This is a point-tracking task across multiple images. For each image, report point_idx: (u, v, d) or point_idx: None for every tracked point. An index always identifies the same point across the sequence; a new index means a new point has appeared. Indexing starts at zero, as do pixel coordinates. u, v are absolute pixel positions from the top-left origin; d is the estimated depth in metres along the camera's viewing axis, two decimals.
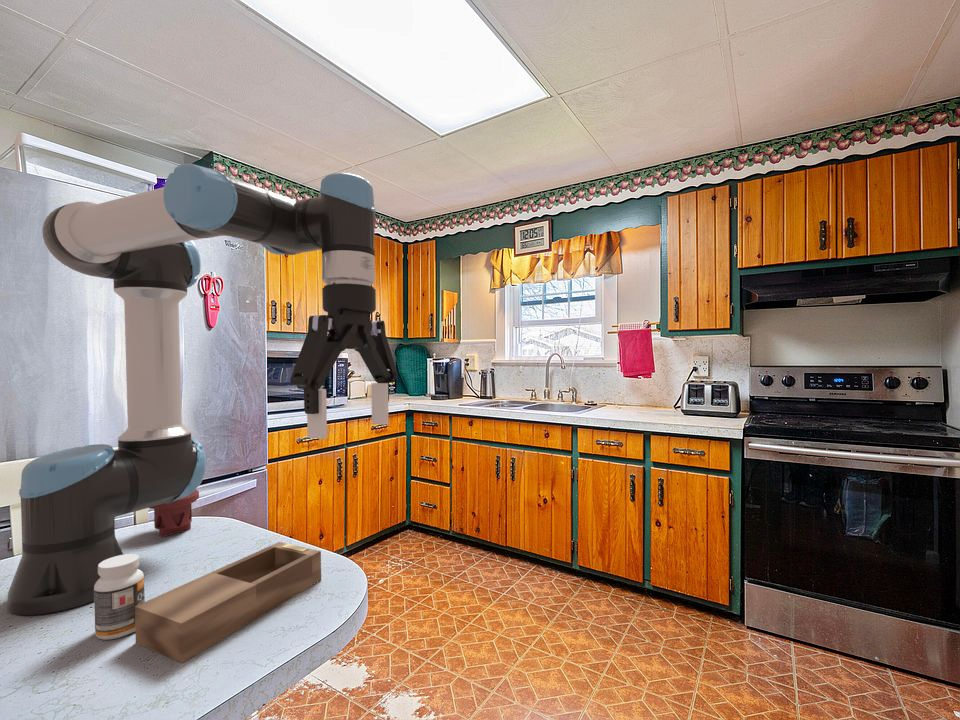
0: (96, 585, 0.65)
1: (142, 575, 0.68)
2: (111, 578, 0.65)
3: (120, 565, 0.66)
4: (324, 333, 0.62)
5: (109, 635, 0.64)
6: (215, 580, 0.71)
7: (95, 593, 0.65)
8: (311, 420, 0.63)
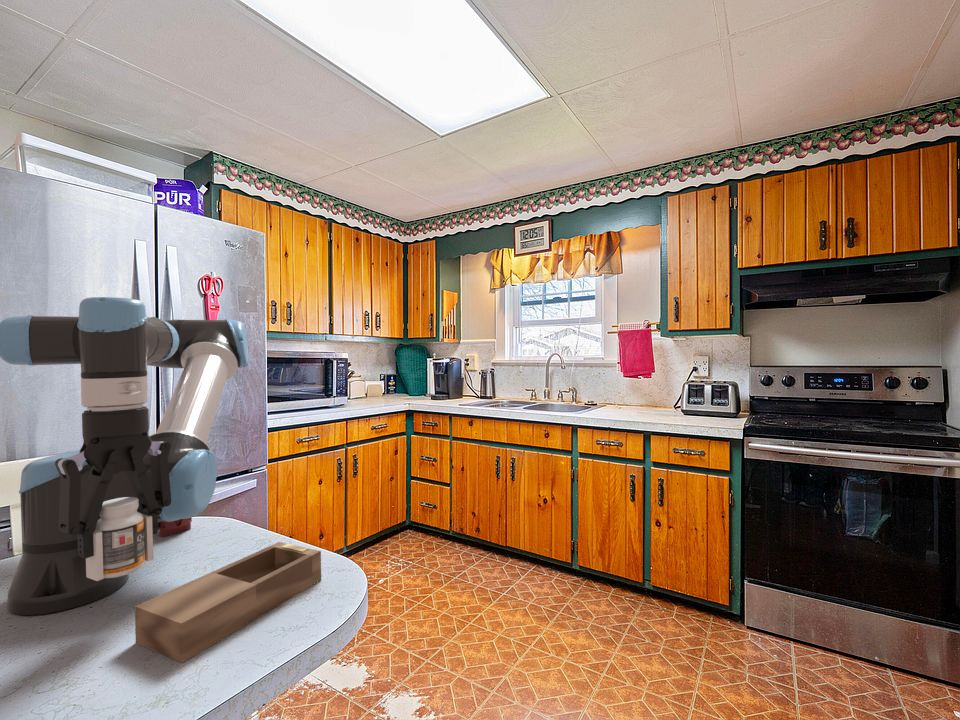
0: None
1: (142, 517, 0.68)
2: (110, 517, 0.65)
3: (119, 505, 0.66)
4: (75, 477, 0.62)
5: (109, 573, 0.65)
6: (215, 580, 0.71)
7: None
8: (88, 561, 0.65)
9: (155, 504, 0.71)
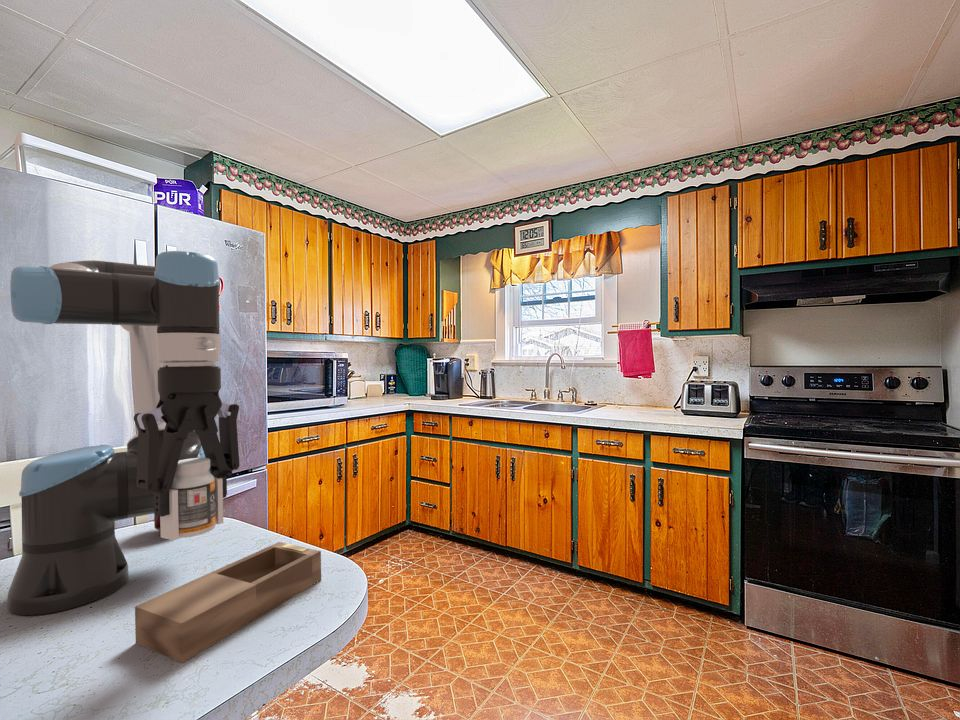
0: None
1: (213, 478, 0.67)
2: (185, 475, 0.64)
3: (194, 463, 0.64)
4: (154, 432, 0.60)
5: (184, 532, 0.63)
6: (215, 580, 0.71)
7: None
8: (163, 521, 0.63)
9: (225, 466, 0.69)
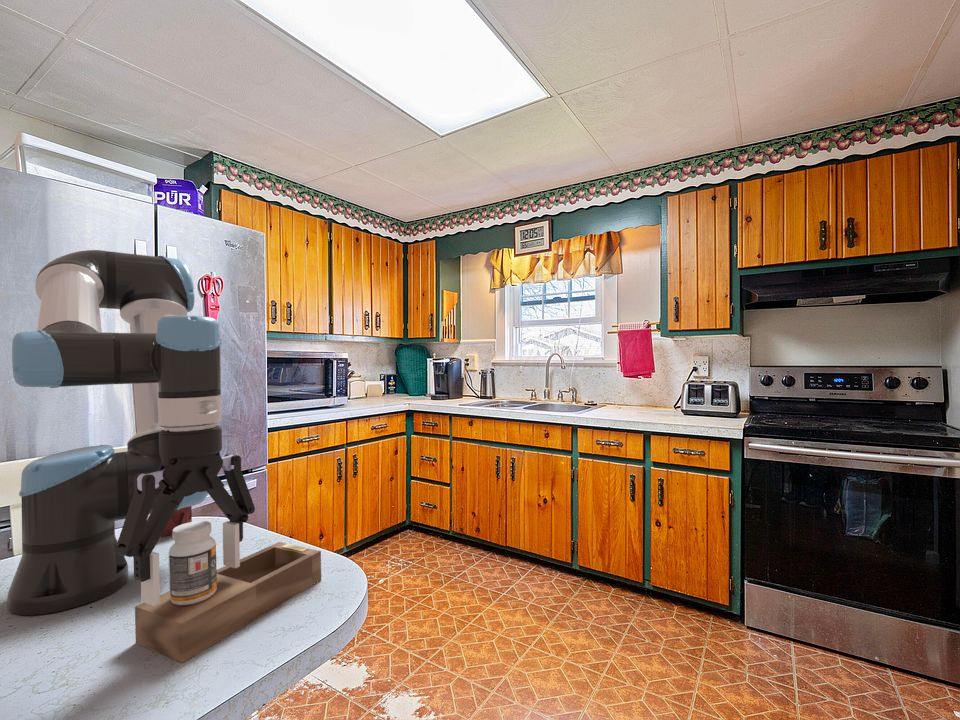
0: (171, 550, 0.64)
1: (214, 542, 0.67)
2: (186, 543, 0.64)
3: (195, 530, 0.65)
4: (149, 494, 0.60)
5: (185, 600, 0.63)
6: None
7: (171, 558, 0.64)
8: (144, 585, 0.61)
9: (240, 512, 0.71)
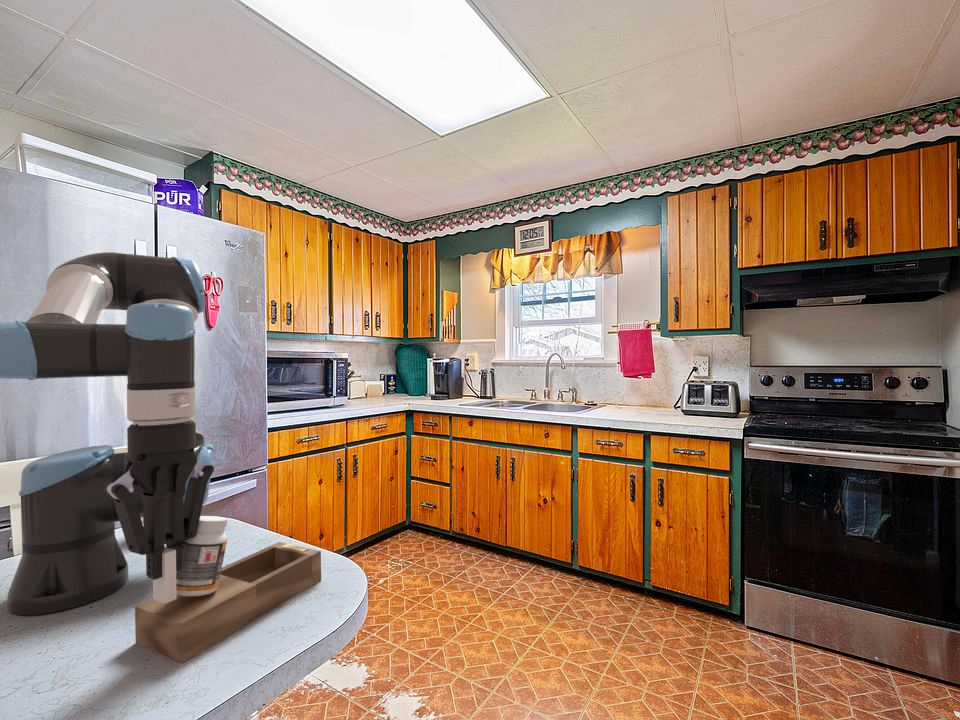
0: None
1: (226, 538, 0.69)
2: (202, 531, 0.66)
3: (213, 520, 0.67)
4: (129, 500, 0.58)
5: (188, 591, 0.64)
6: None
7: None
8: (156, 583, 0.62)
9: (181, 536, 0.63)
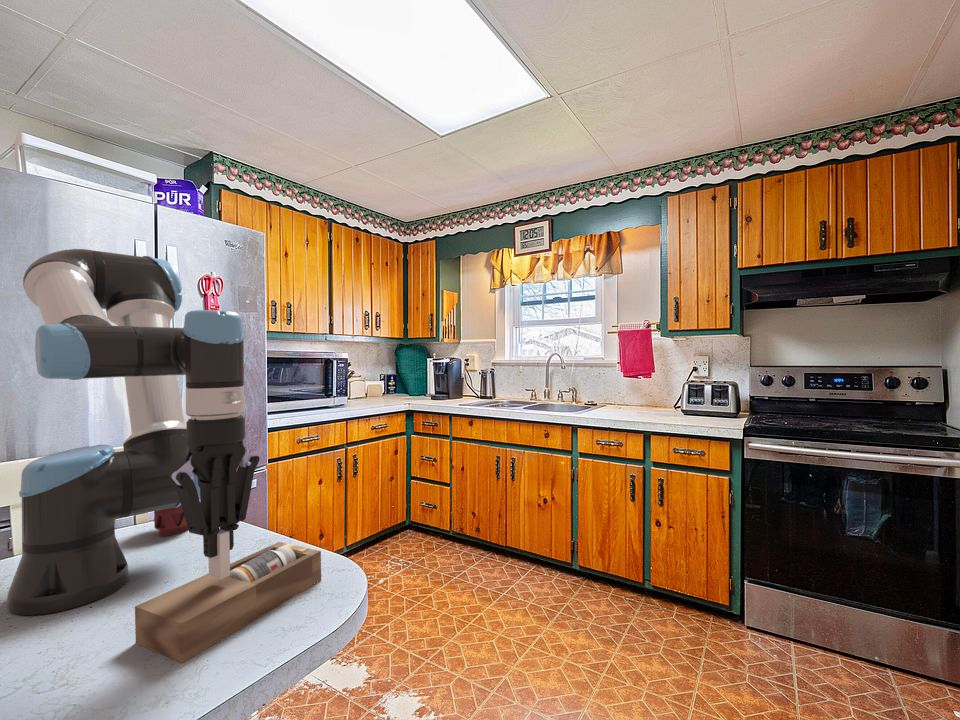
0: None
1: None
2: (283, 553, 0.80)
3: (294, 554, 0.81)
4: (191, 487, 0.65)
5: (245, 572, 0.73)
6: (215, 580, 0.71)
7: (266, 551, 0.79)
8: (211, 561, 0.69)
9: (233, 519, 0.70)
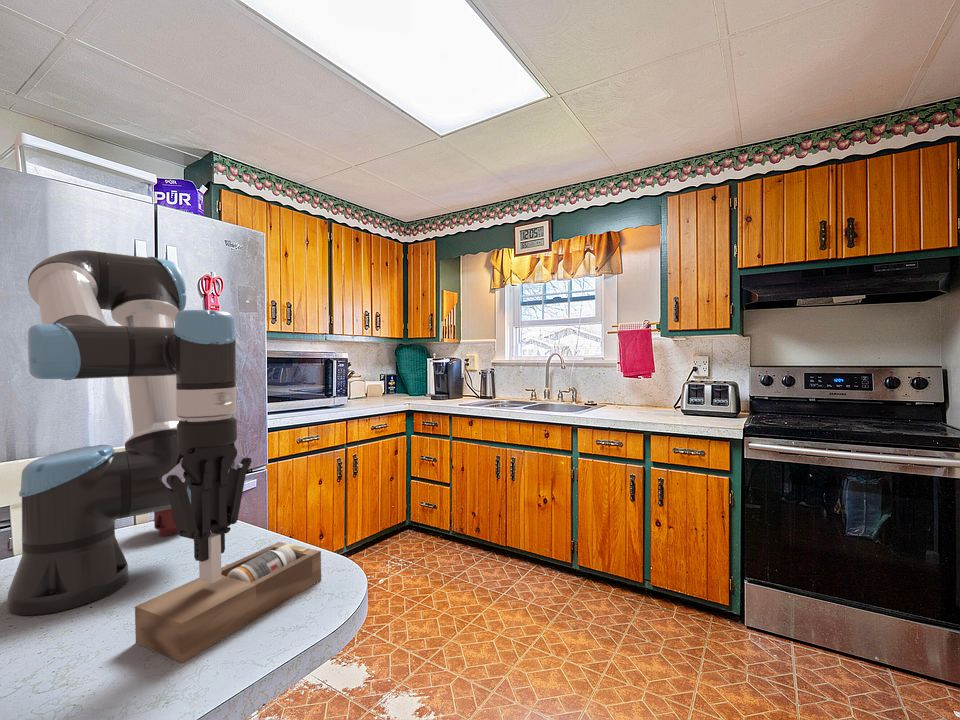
0: None
1: None
2: (283, 553, 0.80)
3: (294, 554, 0.81)
4: (182, 490, 0.63)
5: (245, 572, 0.73)
6: None
7: (266, 552, 0.79)
8: (202, 565, 0.68)
9: (225, 522, 0.69)
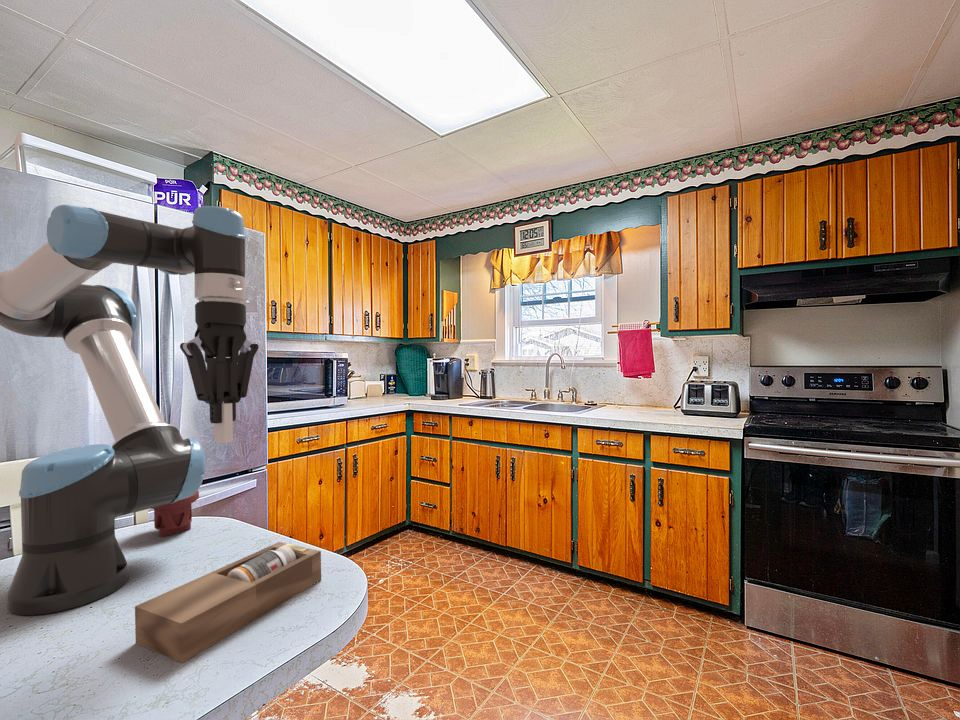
0: None
1: None
2: (283, 554, 0.80)
3: (294, 554, 0.81)
4: (199, 356, 0.75)
5: (245, 572, 0.73)
6: (215, 580, 0.71)
7: (266, 552, 0.79)
8: (216, 428, 0.79)
9: (236, 394, 0.80)
